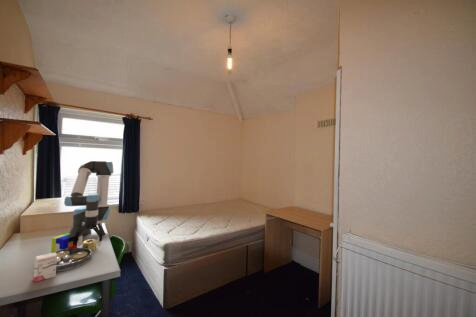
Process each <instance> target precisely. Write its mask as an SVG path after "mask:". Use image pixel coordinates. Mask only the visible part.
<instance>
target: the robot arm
mask: <svg viewBox="0 0 476 317" xmlns="http://www.w3.org/2000/svg"><path fill="white" fill-rule="evenodd" d="M92 174H95V176H96V177H97V183H96V193H92V194H91V193H90V194H87V195H84V192H85V190H86V186H87V184H88V181H89V177H90V176H91V175H92ZM113 174H114V164H113V161H111V160H101V159H100V160H99V159H97V160H96V159H90V160H88V161H85V162H84V163H82V164H81V165H80V166H79V168H78V170H77V176H76V179H75V182H74V184H73V188H72V190H71V193H70V195H66V197H65V198H64V204H63V205H64V206H65V207H78V208H75V209H73V214H72V216H73V217H72V226H71V229H70V231H69V233H68V234H75V236H78V243H77V247H80V246H82V244H83V238H84V237H87V236H89V235H91V234H92V230H93V231H94V232H95V233H96V235H97V236H98V237H97V248H98V247H101V245H102V242H103V237H105V236H106V232H105V230H104V228H103V225H102V224H103V223H102V222H105V221H108V220H109V217H110V215H111V214H110V213H111V211H112V210H111V207H110V205H109V204H108V199H109V183H110V177H112V175H113Z"/></svg>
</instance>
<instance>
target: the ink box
mask: <svg viewBox="0 0 476 317" xmlns="http://www.w3.org/2000/svg"><path fill="white" fill-rule="evenodd" d="M56 264H57V254H56V253H55V252H54V253H51V252H49V253H45V254H41V255H37V256H35V257H34V267H33V268H34V269H33V276H32V278H33V279H32V280H33V282H34V283H36V282H40V281H44V280H48V279H51V278H54V277H55V278H56V274H57V272H56Z"/></svg>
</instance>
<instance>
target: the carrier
mask: <svg viewBox="0 0 476 317" xmlns="http://www.w3.org/2000/svg"><path fill="white" fill-rule="evenodd" d="M53 253H54V252H53ZM55 253H56V254H57V264H56V273H58V272H66V271H70V270H73V269H77V268H79V267H82V266H83V265H86V264H87V263H89V262H91V260H92V258H93V251H91V249H87V248H82V247H77V248H71V249H65V250H60V251H57V252H55ZM85 263H86V264H85Z"/></svg>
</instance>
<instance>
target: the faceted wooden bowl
mask: <svg viewBox="0 0 476 317" xmlns="http://www.w3.org/2000/svg"><path fill="white" fill-rule="evenodd" d="M97 243H98V239H96V238H90V239H85V240H84V241H83V240H82V245H81V246H82V247H81V248H87V249H91V251H92V252H94V251H95V250H97V248H98V247H97Z"/></svg>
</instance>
